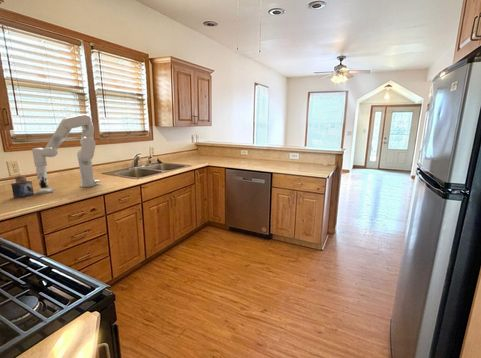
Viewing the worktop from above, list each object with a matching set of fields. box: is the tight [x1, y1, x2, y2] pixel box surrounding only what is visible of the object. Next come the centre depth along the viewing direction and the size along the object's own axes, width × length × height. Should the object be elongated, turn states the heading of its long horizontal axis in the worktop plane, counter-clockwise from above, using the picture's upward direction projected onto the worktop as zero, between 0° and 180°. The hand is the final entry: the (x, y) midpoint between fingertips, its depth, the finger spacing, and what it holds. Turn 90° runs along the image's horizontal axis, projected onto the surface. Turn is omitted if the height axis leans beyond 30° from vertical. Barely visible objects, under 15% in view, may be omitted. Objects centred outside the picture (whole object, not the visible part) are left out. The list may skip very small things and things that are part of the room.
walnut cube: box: [14, 174, 27, 184], centre depth 191 cm, size 5×5×5 cm
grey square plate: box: [36, 188, 55, 195], centre depth 205 cm, size 10×10×1 cm
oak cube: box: [38, 179, 50, 189], centre depth 204 cm, size 5×5×5 cm
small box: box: [10, 180, 35, 199], centre depth 193 cm, size 11×6×10 cm, turn 165°
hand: (44, 186), depth 204 cm, fingers closed on oak cube, 5 cm apart
